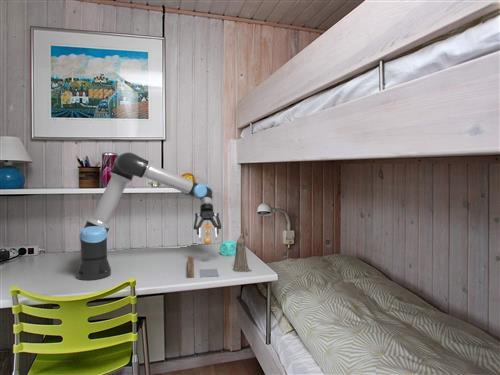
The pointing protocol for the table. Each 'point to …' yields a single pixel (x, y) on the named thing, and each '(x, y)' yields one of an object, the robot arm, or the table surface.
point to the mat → (208, 273)
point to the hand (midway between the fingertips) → (208, 238)
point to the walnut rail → (190, 267)
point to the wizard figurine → (241, 254)
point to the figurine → (207, 239)
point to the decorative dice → (228, 248)
